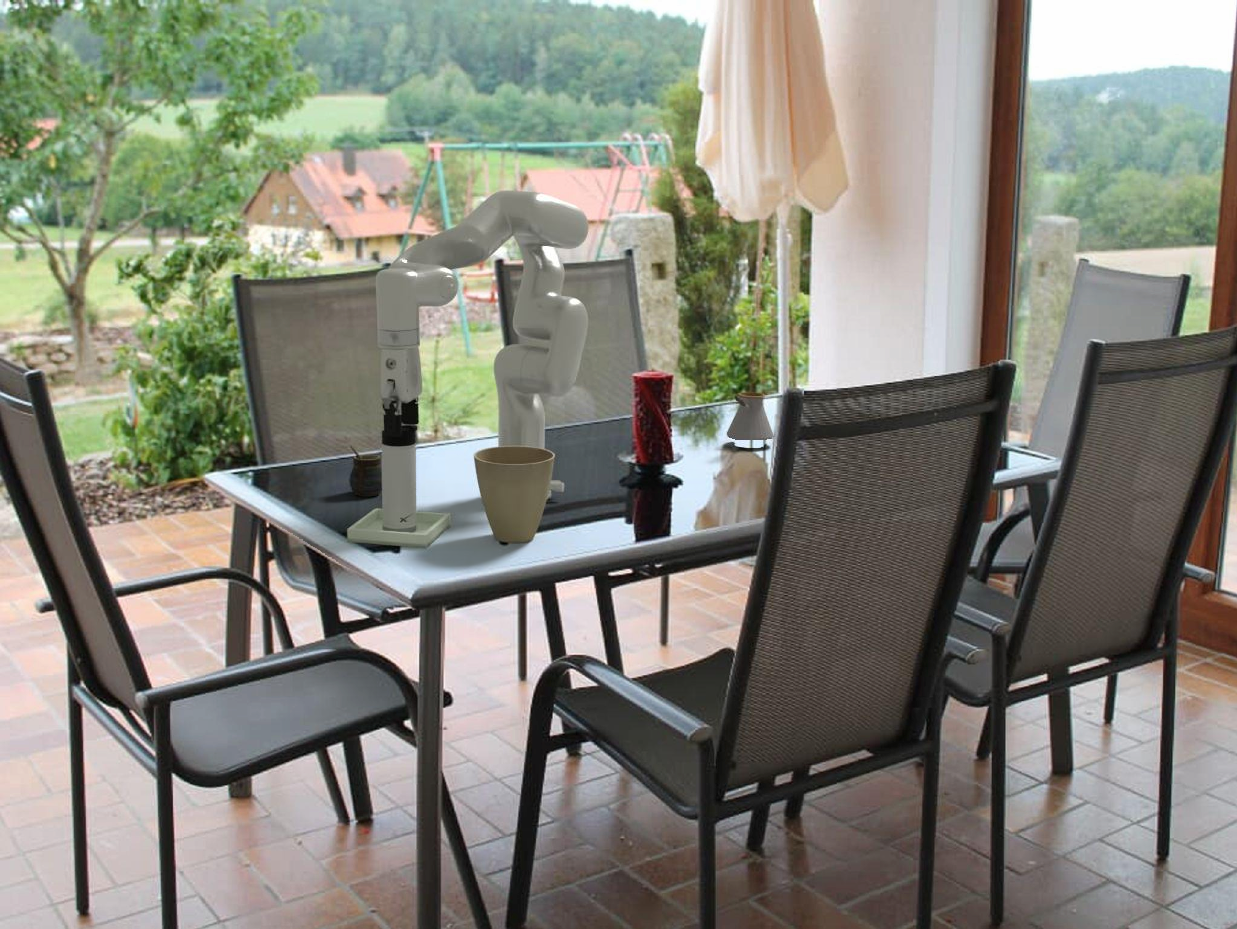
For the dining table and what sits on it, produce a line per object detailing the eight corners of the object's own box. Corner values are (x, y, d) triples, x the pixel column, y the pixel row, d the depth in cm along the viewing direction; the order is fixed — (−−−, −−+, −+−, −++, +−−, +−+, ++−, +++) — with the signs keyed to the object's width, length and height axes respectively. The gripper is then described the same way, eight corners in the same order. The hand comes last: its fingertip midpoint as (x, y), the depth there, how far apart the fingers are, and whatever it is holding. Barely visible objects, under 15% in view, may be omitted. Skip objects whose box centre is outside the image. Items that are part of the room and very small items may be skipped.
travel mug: (411, 536, 257) (410, 429, 252) (377, 533, 258) (376, 427, 253) (422, 527, 263) (422, 423, 258) (389, 524, 264) (388, 420, 259)
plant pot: (482, 525, 268) (482, 443, 264) (558, 529, 266) (560, 447, 263) (465, 546, 253) (466, 461, 250) (546, 551, 252) (548, 465, 248)
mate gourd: (377, 500, 284) (377, 452, 281) (342, 497, 285) (341, 449, 283) (389, 491, 291) (389, 444, 288) (355, 489, 292) (354, 442, 290)
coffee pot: (733, 439, 351) (736, 380, 347) (777, 443, 347) (781, 384, 343) (708, 456, 331) (711, 393, 328) (755, 461, 327) (758, 398, 324)
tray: (450, 526, 266) (450, 513, 266) (426, 547, 252) (426, 535, 251) (375, 520, 269) (375, 508, 268) (347, 541, 254) (347, 529, 254)
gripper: (403, 346, 243) (406, 442, 247) (433, 330, 260) (435, 420, 264) (362, 345, 244) (366, 440, 249) (394, 329, 261) (397, 418, 265)
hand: (401, 429), depth 256 cm, fingers open, 9 cm apart
